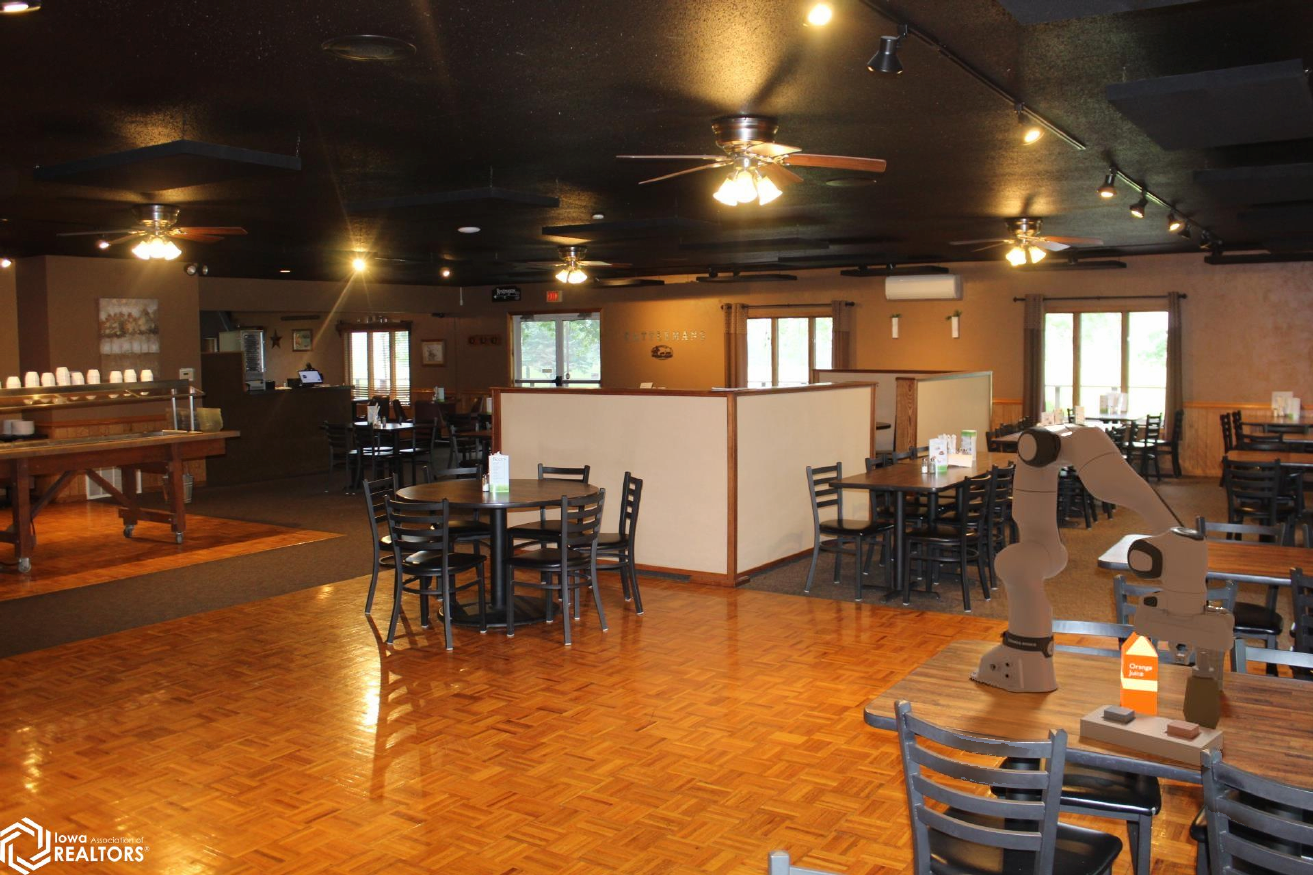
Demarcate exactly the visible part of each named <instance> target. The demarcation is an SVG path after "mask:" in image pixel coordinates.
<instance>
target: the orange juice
mask: <svg viewBox="0 0 1313 875" xmlns="http://www.w3.org/2000/svg"><path fill="white" fill-rule="evenodd" d="M1131 633H1132V634H1131V635H1130V636H1129V637H1128V638H1127V639H1126V640H1125V642H1123V644H1122V645H1121V656H1120V657H1121V658H1120V659H1121V662H1120V665H1121V666H1120V698H1119V699H1120V707H1124V708H1128V709H1132V710H1135V712H1140V713H1144V714H1149V715H1153V716H1157V709H1158V708H1157V707H1158V705H1157V703H1158V671H1159V669H1158V668H1159V655H1158V652H1157V651H1156V647H1154V645H1153V644H1152V642H1151V641H1150V639H1148V637H1143V636H1138V635H1136V634H1135V632H1134V631H1133V632H1131Z"/></svg>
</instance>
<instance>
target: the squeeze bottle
mask: <svg viewBox="0 0 1313 875" xmlns="http://www.w3.org/2000/svg"><path fill="white" fill-rule="evenodd" d="M1182 713H1183V718H1184V719H1185V720H1184V721H1185V722H1190V723H1194V724H1199V726H1201V727H1205V728H1210V729H1214V730H1217V729H1216V728H1217V727H1218V723H1220V719H1221V717H1222V711H1221V700H1220V691H1219V685H1218V680H1217V679H1216V678H1215V677H1214V669H1213V668H1211V667H1209V664H1208V659H1207V654H1206V653H1204V652H1201V654H1200V657H1199V661H1198V664H1197V666H1195V665H1193V666H1192V667H1191V674H1190V675H1188V676H1187V679H1186V686H1185V694H1184V699H1183V707H1182Z"/></svg>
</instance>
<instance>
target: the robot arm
mask: <svg viewBox="0 0 1313 875" xmlns="http://www.w3.org/2000/svg"><path fill="white" fill-rule="evenodd" d="M1016 445H1017V446H1016V448H1017V450H1016V451H1017V453H1018V457H1017V459H1016V464H1015V469H1014V474H1013V482H1012V499H1011V500H1012V501H1011V502H1012V503H1011V504H1012V506H1011V517H1012V519H1013V520H1014V522H1015V523H1016V524H1017V527H1018V530H1019V531H1018V533H1019V536H1020V542H1017V543H1016V542H1015V543H1011V544H1009V545H1008V546H1006V547H1004V548H1003V549H1002V550H1000V551H998V553H997V554H996V556H995V558H994V561H993V569H994V572H995V574H996V577H998V578H999V580H1001V582H1002V584H1003V586H1004V588H1005V594H1006V596H1007V604H1008V628H1007V630H1004V631H1002V632H1001V633H999V637H998V638H999V639H1002V641H1001V643H999V644H997V645H996V646H994V647H992V648H991V649H989V650H988V651H986V652H985V653H983V655H982V656H981V658H980V661H979V666H978V668H976V669H974V670H973V671H971V672H970V674H969V675H970V676H969V679H970V678H972V679H971V680H973V679H974V680H973V681H976V680H978V681H977V682H979V681H980V683H982V682H985V683H987V684H986V685H988V684H991V685H990V686H992V685H993V686H992V687H995V686H998V687H1000V688H999V689H1001V688H1004V689H1006V690H1005V691H1008V692H1011V691H1012V692H1011V693H1047V692H1051V691H1055V690H1056V689H1057V688H1059V687H1058V686H1059V685H1058V682H1057V677H1056V675H1055V674H1056V673H1055V667H1054V650H1055V635H1054V633H1053V621H1054V620H1053V619H1054V617H1053V614H1054V608H1053V604H1052V602H1051V601H1050V600H1049V599H1048V596H1047V594H1046V591H1045V585H1044V584H1045V583H1044V581H1045V580H1047V579H1050V578H1053V577H1056V576H1057V575H1058V574H1060V573H1061V572H1062V571H1063V570H1064V569H1065V568H1066V567H1067V565H1068V562H1069V555H1068V551H1067V548H1066V547H1065V545H1064V544H1063V543H1062V541H1061V536H1060V533H1059V529H1058V522H1057V505H1058V476H1059V473H1060V471H1061V470H1062V469H1063V468H1066V467H1067V468H1069V469H1074V470H1075V472H1076V473H1077V475H1078V477H1079V479H1080V480H1081V483H1082V484H1083V486H1084V488H1085V489H1086V490H1087V491H1088V493H1089V494H1090V495H1091V496H1092V497H1094V498H1095V499H1097V500H1100V501H1102V502H1105V503H1108V504H1114V505H1119V506H1121V507H1125V508H1128V509H1130V510H1132V511H1134V512H1137V513H1138V514H1139V515H1140V516H1142V517H1143V518H1144V519H1145V521H1146V522H1147V524H1148V525H1149V526H1150V527H1151V528H1152V530H1153V532H1155V534H1156V535H1153V536H1149V537H1148V536H1147V537H1142V538H1139V539H1135V540H1134V541H1132V542H1131V544H1130V545H1129V547H1128V548H1127V549H1128V550H1127V552H1126V560H1127V565H1128V568H1129V569H1130V571H1131V573H1132V574H1133V575H1135V576H1136V577H1137V578H1138V579H1142V580H1151V581H1152V580H1160V581H1161V582H1162V586H1161V587H1162V588H1161V590H1157V591H1149V592H1147V593H1144V594H1142V595H1140V596H1139V597H1138V603H1139V604H1138V605H1139V606H1138V607H1137V608H1136V609H1135V612H1134V616H1133V617H1134V618H1133V625H1132V626H1133V627H1132V630H1133V632H1135V634H1136V635H1138V636H1143V637H1147V638H1150V639H1154V640H1159V641H1164V642H1167V647H1168V649H1169V651H1170V652H1171V654H1172V662H1173V663H1178V664H1183V665H1189V664H1190V656H1191V655H1192V654H1193V653H1194V651H1196V647H1200V648H1205V649H1210V650H1215V651H1220V652H1224V653H1227V652H1229V651H1231V649H1233V648H1234V646H1235V645H1234V643H1235V641H1234V640H1235V639H1234V630H1233V629H1234V628H1235V622H1236V621H1235V620H1236V619H1235V615H1234V613H1232V612H1231V611H1229V610H1228V609H1227V608H1224V607H1221V608H1220V607H1216V606H1212V605H1207V591H1208V588H1207V584H1206V578H1207V575H1208V571H1209V570H1208V569H1209V548H1208V547H1209V546H1208V542H1207V538H1206V537H1205V535H1204V534H1203V533H1201V532H1200V531H1199V530H1196V529H1193V528H1188V527H1186V526H1185V525H1184V523H1183V522H1182V521H1181V520H1180V518H1179V517H1178V515H1176V513H1175V512H1174V511H1173V510H1172V508H1171V507H1170V505H1169V504H1168V503H1167V502H1166V501H1165V500H1164V498H1163V497H1162V495H1161V494H1160V492H1158V490H1156V488H1155V487H1154V486H1153V485H1151V483H1149V482H1148V481H1147V480H1146V479H1144V478H1142V477H1141V475H1139V473H1137V472H1136V470H1134V469H1133V468H1132V466H1131V465H1130V464H1129V463H1128V461H1127V460H1126V459H1125V457H1124V455H1123V454H1122V453H1121V451H1120V449H1119V448H1118V446H1117V445H1116V443H1115V442H1114V441H1113V440H1112V439H1111V437H1110V436H1109V435H1108V434H1107V433H1106V432H1105V431H1104V430H1103V428H1101V427H1099V426H1097V425H1094V424H1092V425H1091V424H1090V425H1089V424H1088V425H1086V424H1070V423H1056V424H1051V425H1035V426H1031V427H1028V428H1026V429H1024V430H1023V431H1022V432H1021V433H1020V434H1019V437H1018V439H1017V444H1016ZM1179 644H1181V645H1183V646H1184V645H1185V650H1187V651H1186V653H1185V654H1184V653H1180V652H1179V650H1178V648H1177V646H1179ZM985 683H984V684H985ZM998 687H997V688H998ZM1004 689H1003V690H1004Z"/></svg>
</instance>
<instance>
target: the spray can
mask: <svg viewBox="0 0 1313 875" xmlns="http://www.w3.org/2000/svg"><path fill="white" fill-rule="evenodd" d="M1201 652H1204V653H1206V654H1207V659H1208V664H1209V667H1211V668H1213V669H1214V677H1215V678H1216V679H1217V680H1218V685H1219V692H1221V691H1222V690H1223V689H1224V688H1223V687H1224V669H1225V668H1224V664H1225V663H1224V662H1225V658H1224V657H1225V652H1220V651H1215V650H1210V649H1205V648H1200V647H1196V648H1195V657H1194V658H1195V660H1194V661H1195V662H1194V666H1197V664H1198V661H1199V657H1200V654H1201Z"/></svg>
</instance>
